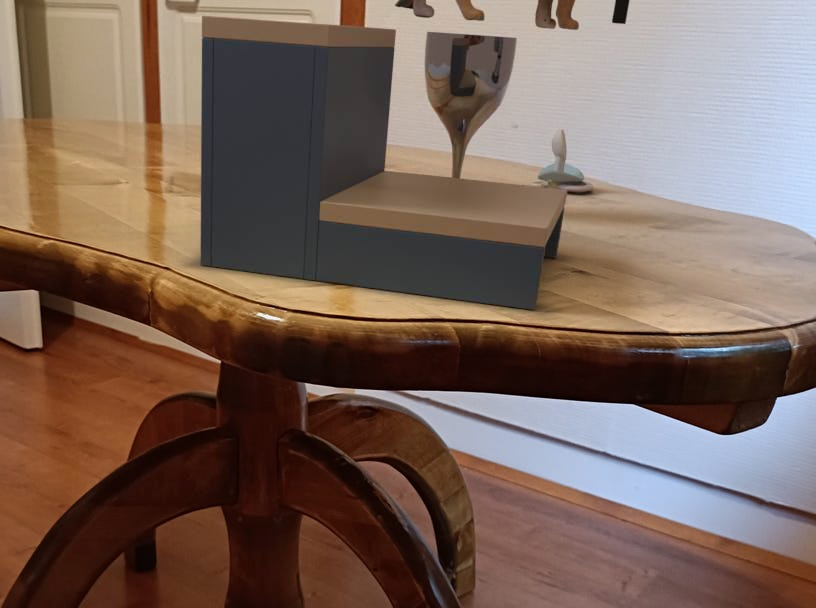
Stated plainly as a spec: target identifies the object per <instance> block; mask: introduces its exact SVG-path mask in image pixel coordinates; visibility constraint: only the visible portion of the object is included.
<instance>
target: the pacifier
mask: <svg viewBox="0 0 816 608" xmlns="http://www.w3.org/2000/svg"><path fill="white" fill-rule="evenodd" d="M551 151H552V153H553V155H554V157H555V162H554V163H552V164H549V165H547V166H545V167H544V168H543V169H542V171H541V172H538V174H537V179H538V180H540V181H543V182H547V188H555V189H564V190H567V192H571V193H573V192H574V193H584V192H585V193H586V192H589V191H590V192H591V191H592V190H593V189H594V185H593V184H591V182H588V181H584V180H585V175H584V174H583V172H582V171H581V170H580V169H579V168H577V167H575V166H574V165H571V164H568V163H566V160H567V140H566V133H565V131H564V130H563V129H558V130H557V131H556V132H555V133H554V134H553V137H552V139H551Z"/></svg>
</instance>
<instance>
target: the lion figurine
mask: <svg viewBox="0 0 816 608" xmlns="http://www.w3.org/2000/svg"><path fill="white" fill-rule="evenodd" d="M413 1H414V3H413V9H412V11H413V15H414V16H415V17H417V18H425V19H430V18H433V17H434V16H435V9H434V7H433V6H432V5H428V3H427V0H397V2H396V3H394V6H395V7H397V8H403V7H408V6H409V5H411V4H412V2H413ZM454 1H455V2H456V5H457V7H458V9H459V10H460V13H461V15H462V17H463V19H464V20H466V21H478V22H483V21H485V12H484V10H481V9H479V8H476V7H475V6H474V5H473V4H472V0H454ZM553 2H554V0H537V6H536V10H535V14H534V15H535V19H534V21H535V22H534V23H535V26H536V27H537V28H541V29H550V30H554V29H556V27H557V24H558V28H560V29H562V30H563V29H564V30H571V31H572V30H573V31H578V30H579V28H580V23H579V22H578V20H576V19H573V18H572V12H573V9H574V6H575V3H576V0H557V5H556V10H555V17H556V19H557V22H556V20H555V19H554V18H552V9H553Z"/></svg>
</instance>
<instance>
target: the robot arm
mask: <svg viewBox="0 0 816 608" xmlns="http://www.w3.org/2000/svg"><path fill="white" fill-rule="evenodd" d="M630 1H631V0H615V1H614V7H613V14H612V19H611V23H612V24H619V25H626V23H627V19H628V18H627V17H628V11H629V5H630ZM413 3H414V1H413V2H412V4H411V5H409V6H408V7H402V8H404V9H409V10H413Z"/></svg>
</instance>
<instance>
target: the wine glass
mask: <svg viewBox="0 0 816 608" xmlns="http://www.w3.org/2000/svg"><path fill="white" fill-rule="evenodd" d="M425 36H426V38H425V46H424V63H423V65H424V66H423V67H424V81H425V82H424V83H425V91H426V95H427V99H428V101H429V105H431V107H432V109H433V111H434V112H435V114H436V115H437V117H438V118H439V120H440V122H441V123H442V125H443V126H444V128H445V130H446V132H447V134H448V137H449V140H450V143H451V154H452V160H451V161H452V163H451V164H452V165H451V178H460V179H461V175H462V168H463V164H464V161H465V160H464V159H465V155H466V153H467V148H468V146H469V144H470V141H471V140H472V139H473V137H474V135H475V134H476V133H477V132H478V130H479V129H480V128H481V127H482V126H483V125H484V124H485V123H486V122H487V121H488V120H489V119H490V118H491V117H492V116H493V114H495V113H496V112H497V110H498V109H499V108H500V106H501V105H502V103H503V100H504V99H505V97H506V95H507V94H506V93H507V91H508V88H509V85H510V81H511V78H512V75H513V74H512V73H513V70H514V66H515V65H514V64H515V60H516V59H515V58H516V51H517V44H518V37H509V36H496V35H482V34H481V35H480V34H469V33H468V34H467V33H452V32H438V31H426V35H425Z"/></svg>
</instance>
